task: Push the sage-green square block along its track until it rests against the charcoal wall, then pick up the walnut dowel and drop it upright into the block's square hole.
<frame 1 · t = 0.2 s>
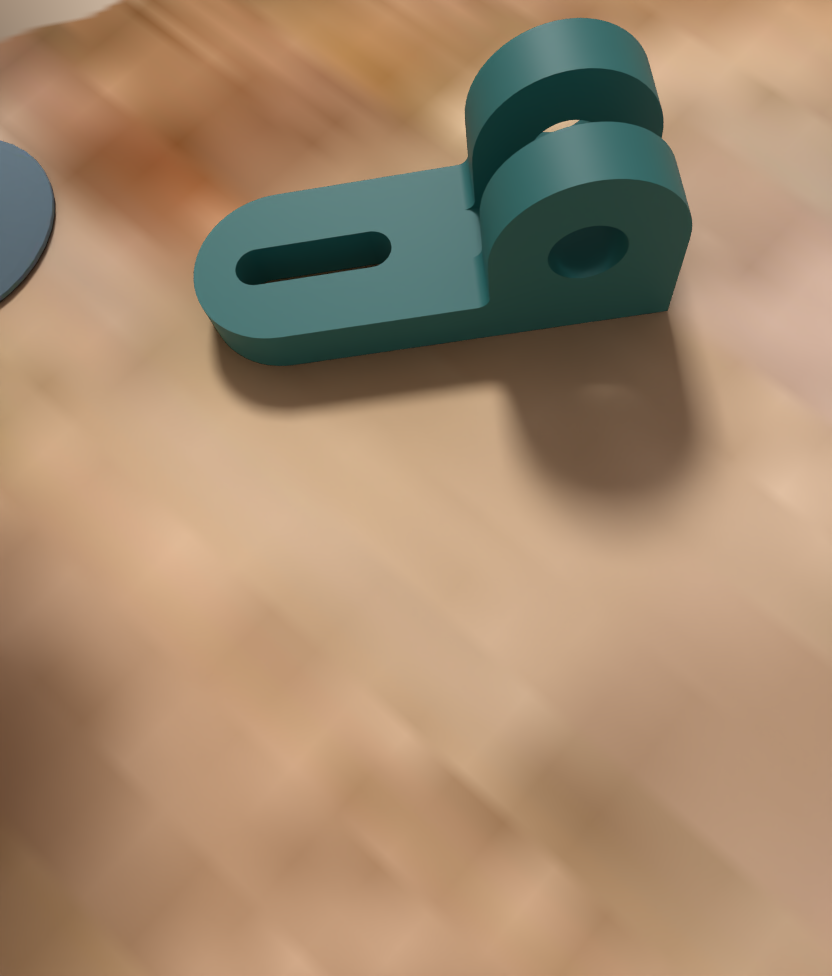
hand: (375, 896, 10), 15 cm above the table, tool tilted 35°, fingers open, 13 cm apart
bracket: (427, 279, 32), on the table
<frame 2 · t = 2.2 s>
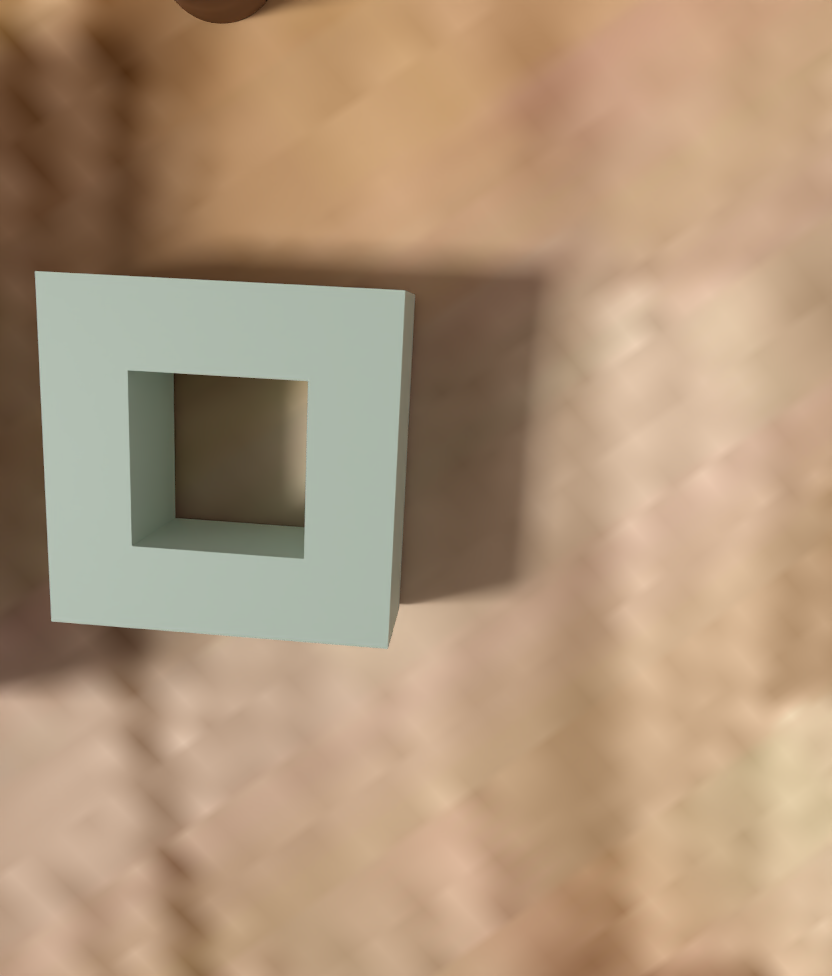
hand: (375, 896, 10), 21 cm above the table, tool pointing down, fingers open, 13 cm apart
block: (235, 456, 28), point 2 cm above the table, slide at 0.0 cm
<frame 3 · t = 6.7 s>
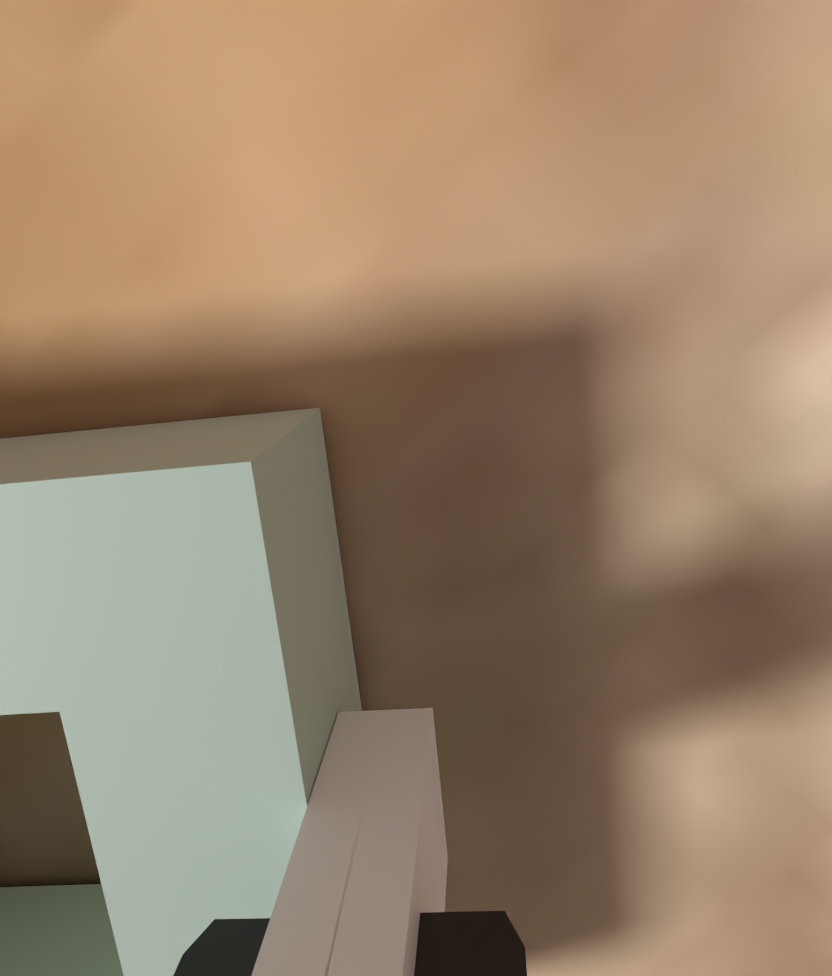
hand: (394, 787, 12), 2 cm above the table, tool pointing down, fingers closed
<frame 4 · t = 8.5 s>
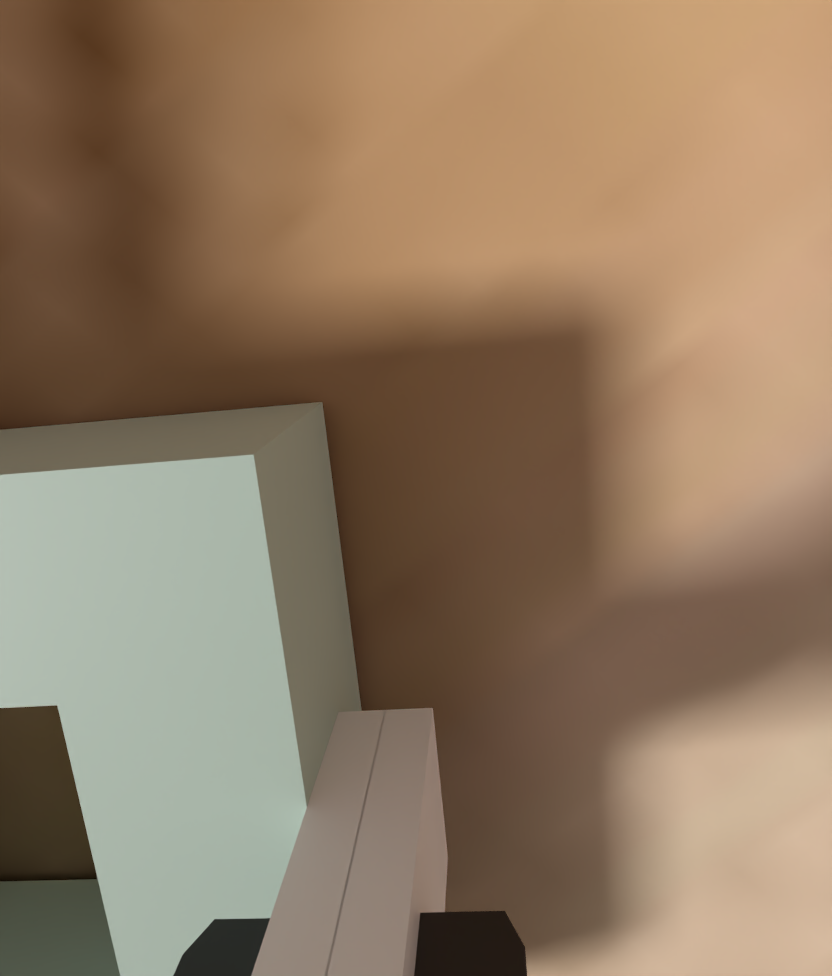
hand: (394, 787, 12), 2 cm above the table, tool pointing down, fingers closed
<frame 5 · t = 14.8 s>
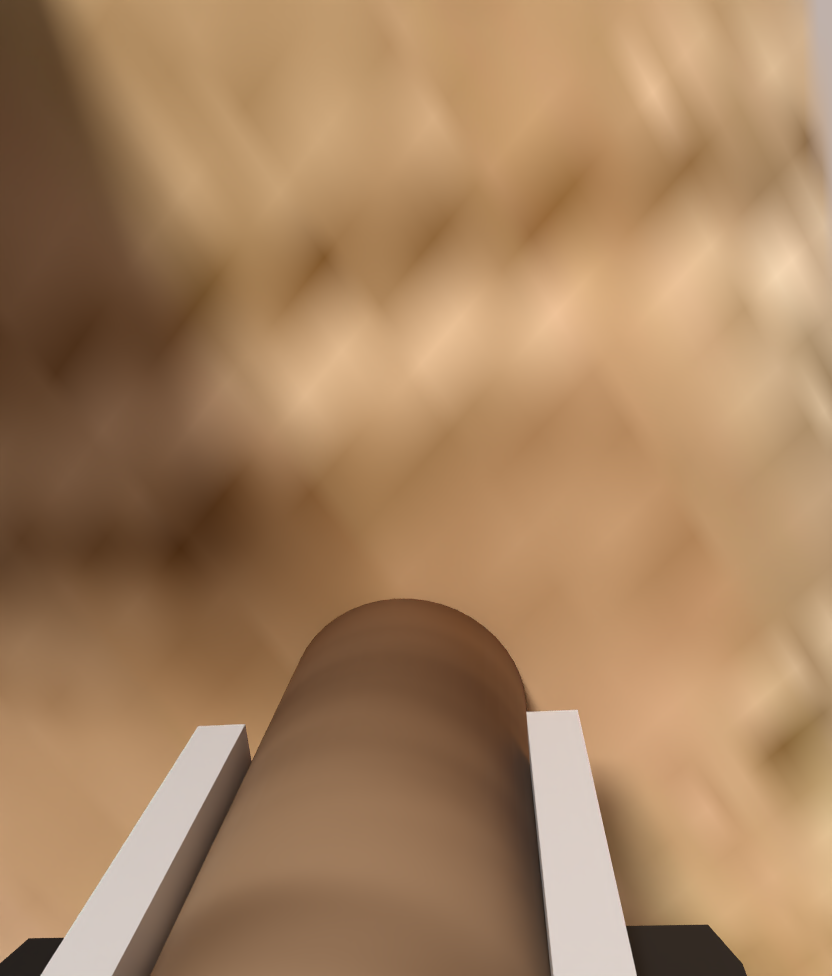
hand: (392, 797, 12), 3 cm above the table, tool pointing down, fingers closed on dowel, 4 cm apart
dowel: (407, 708, 15), on the table, touching gripper
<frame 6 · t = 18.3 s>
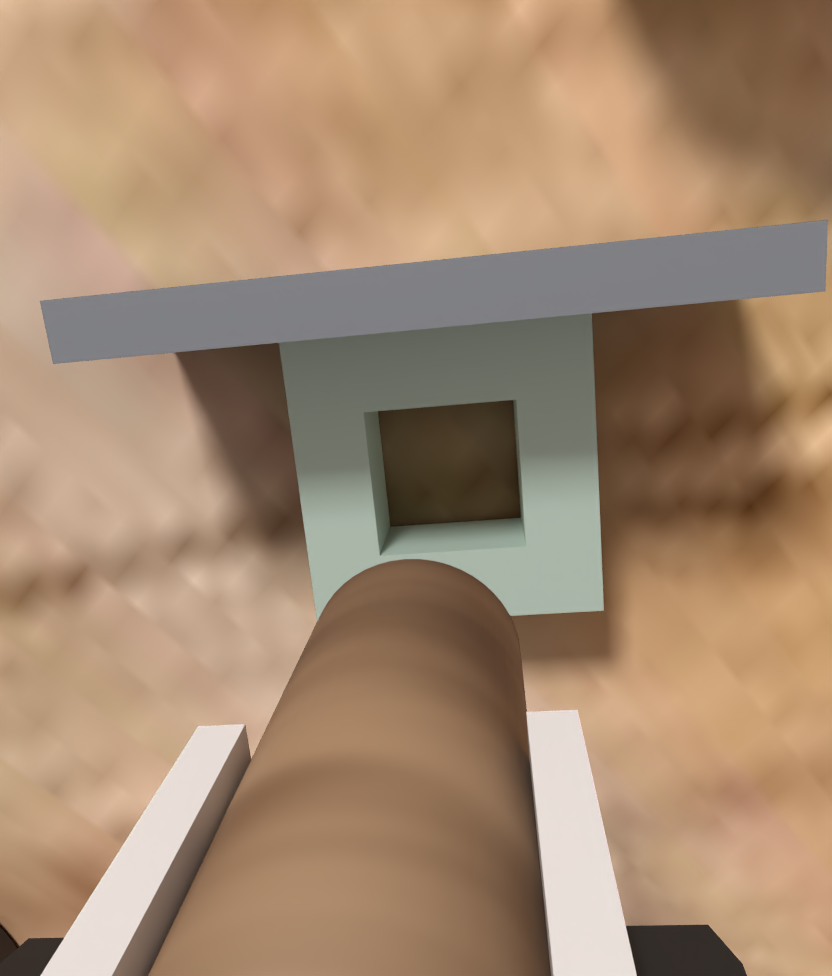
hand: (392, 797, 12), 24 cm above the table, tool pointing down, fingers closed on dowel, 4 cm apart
dowel: (415, 657, 17), point 20 cm above the table, touching gripper
block: (447, 468, 33), point 2 cm above the table, slide at 8.0 cm
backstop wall: (435, 291, 34), on the table
when the fingers open (5 cm above the table, at t = 22.0 s): dowel stays where it is, on the table.
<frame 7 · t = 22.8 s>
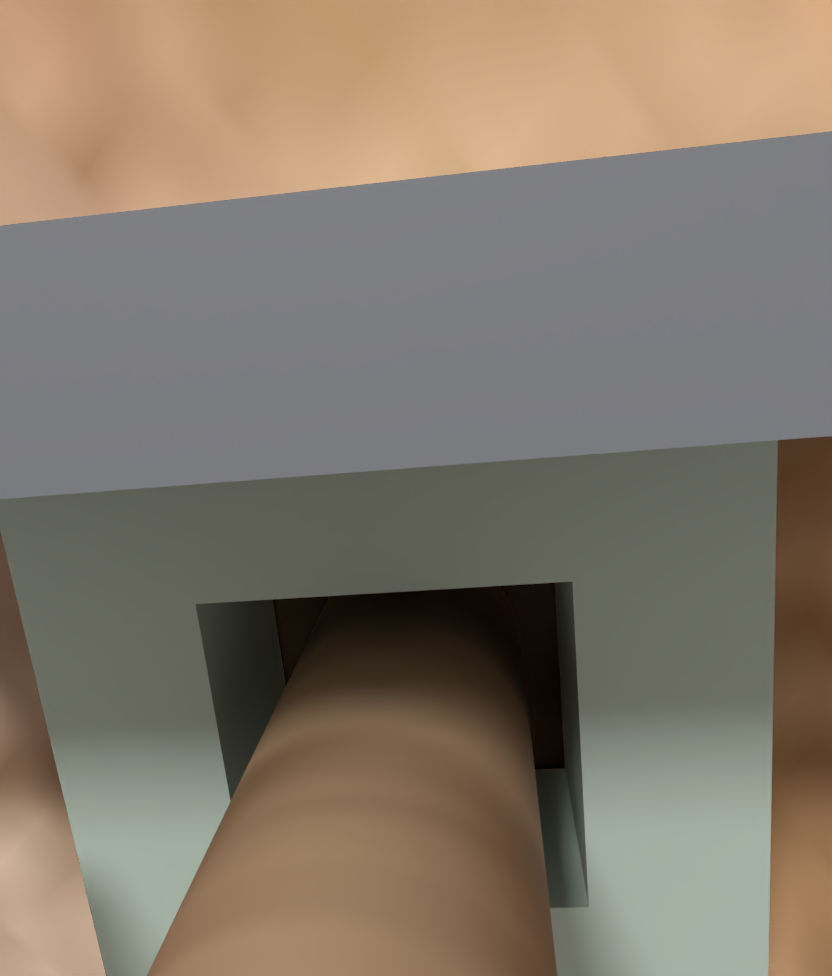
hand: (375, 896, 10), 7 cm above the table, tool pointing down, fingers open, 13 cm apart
dowel: (418, 642, 17), on the table
block: (409, 699, 15), point 2 cm above the table, slide at 8.0 cm
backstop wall: (382, 305, 15), on the table
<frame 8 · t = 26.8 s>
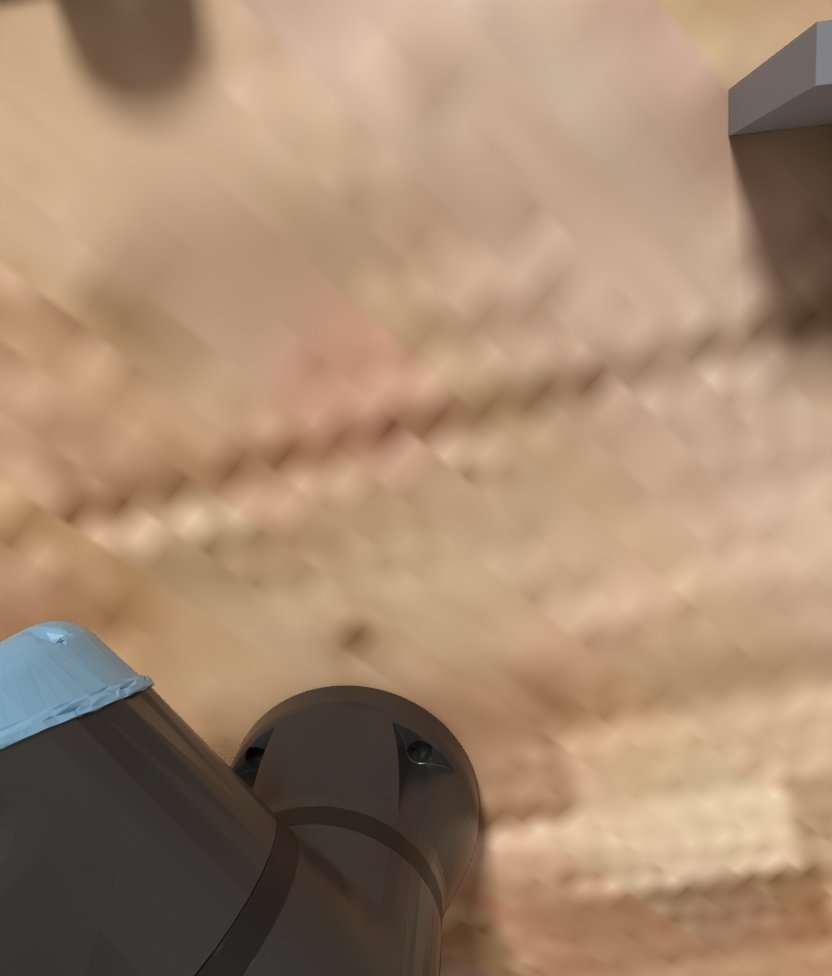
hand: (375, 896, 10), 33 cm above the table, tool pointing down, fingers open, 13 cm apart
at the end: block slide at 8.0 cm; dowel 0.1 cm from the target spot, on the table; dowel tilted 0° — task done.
